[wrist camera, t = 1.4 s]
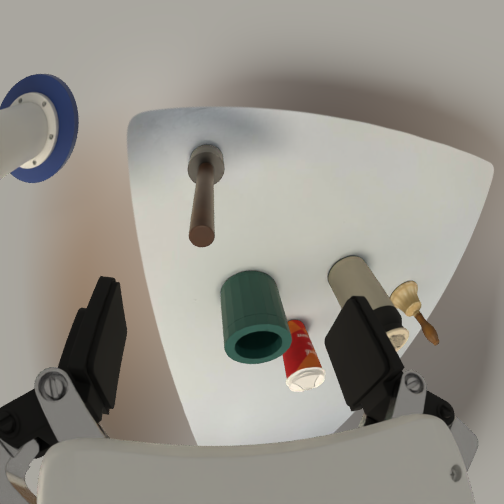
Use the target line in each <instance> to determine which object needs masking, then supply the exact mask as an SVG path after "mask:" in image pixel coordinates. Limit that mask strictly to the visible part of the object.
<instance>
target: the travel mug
mask: <svg viewBox="0 0 504 504" xmlns="http://www.w3.org/2000/svg"><path fill="white" fill-rule="evenodd" d="M328 281H329V284H330V286H331V288H332V290H333V292H334V294H335V296H336V298H337V300H338V302H339V304H340V306H341V308H343V306H344V304H345V303H346V301H347V300H348V299H350V297H351V296H364V297H366V299H367V300H368V302H369V304H370V306H371V307H372V309H373V311H374V312H375V314H376V316H377V318H378V319H379V321H380V323H381V325H382V326H383V328H384V330H385V332H386V334H387V335H388V337H389V339H390V341H391V343H392V345H393V347H394V348H395V350H396V351H398V350H399V349H400V348H401V347H402V346H403V345H404V344H405V343H406V341H407V340H408V337H409V331H408V330H407V329H406V328H404V327H403V326H402V318H401V315H400V314H399V312H398V310H397V309H396V307H395V306H394V304H393V303H392V301H391V300H390V298H389V297H388V295H387V294H386V292H385V291H384V289H383V288H382V286H381V285H380V283H379V282H378V280H377V279H376V277H375V276H374V274H373V273H372V271H371V270H370V269H369V267H368V266H367V264H366V263H365V262H364V260H363V259H362V258H360V257H356V256H351V257H347V258H344V259H342V260H340V261H339V262H338V263H336V264H335V265H334V266H333V268H332V269H331V271H330V273H329V276H328Z"/></svg>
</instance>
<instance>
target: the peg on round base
mask: <svg viewBox="0 0 504 504" xmlns="http://www.w3.org/2000/svg"><path fill="white" fill-rule="evenodd" d="M188 174H189V177H190V178H191V180H192V181H193V182H194V183H196V188H195V194H194V201H193V208H192V215H191V222H190V230H189V239H190V241H191V243H192V244H193V245H195V246H197V247H206V246H209V245H210V244H211V243H212V242H213V241H214V238H215V230H214V184H216V183H217V182H218V181H220V179H221V178H222V176H223V174H224V161H223V155H222V153H221V151H220V150H219V149H218V148H217V147H215V146H213V145H202V146H199V147H198V148H196V149H195V150H194V151H193V153H192V155H191V158H190V161H189V165H188Z"/></svg>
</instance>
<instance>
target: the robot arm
mask: <svg viewBox="0 0 504 504" xmlns="http://www.w3.org/2000/svg"><path fill="white" fill-rule="evenodd" d="M58 131H59V121H58V115H57V111H56V109H55V106H54V104H53V103H52V101H51V100H50V99H49V98H48V97H47V96H46V95H44V94H42V93H39V92H30V93H26V94H23V95H21V96H20V97H18V98H17V99H16V100H15V101H14V102H13V103H12V104H11V106H10V107H8V108H5V109H1V110H0V179H2V178H3V177H4V176H6V175H7V174H9V173H10V172H12V171H14V170H15V169H17V168H18V167H21V168H26V169H29V168H34V167H37V166H38V165H40V164H42V163H43V162H44V161H45V160H47V158H48V157H49V156H50V155H51V153H52V151H53V149H54V147H55V145H56V142H57V138H58ZM126 336H127V327H126V321H125V315H124V309H123V303H122V296H121V289H120V283H119V282H116V281H115V278H111V277H103V276H101V277H100V278H99V280H98V282H97V284H96V287H95V289H94V291H93V294H92V297H91V299H90V301H89V304H88V306H87V308H80V309H79V310H78V312H77V315H76V317H75V320H74V323H73V325H72V328H71V330H70V333H69V336H68V338H67V341H66V344H65V347H64V350H63V353H62V356H61V359H60V362H59V366H58V368H54V367H50V368H47V369H44V370H43V371H42V372H40V374H39V375H38V376H37V378H36V380H35V389H33V390H31V391H29V392H28V393H26V394H24V395H22V396H20V397H19V398H17V399H15V400H13V401H11V402H10V403H8V404H6V405H4V406H3V407H1V408H0V504H475V500H474V496H473V492H472V488H471V484H470V481H469V478H468V474H467V471H468V469H469V467H470V465H471V462H472V460H473V458H474V455H475V453H476V451H477V448H478V439H477V437H476V436H475V434H473V432H472V431H471V430H469V428H468V427H467V426H466V425H465V424H464V423H463V422H462V421H461V420H460V419H459V418H458V417H455V418H454V410H453V408H452V407H451V405H450V404H449V403H448V402H447V401H445V400H443V399H441V398H440V397H437V396H436V395H434V394H432V393H430V392H429V391H427V390H426V389H427V386H426V381H425V379H424V378H423V376H422V375H421V374H420V373H418V372H417V371H414V370H407V371H405V372H404V373H403V372H402V370H403V368H404V366H403V364H402V362H401V360H400V358H399V356H398V354H397V352H396V350H395V348H394V347H393V345H392V343H391V341H390V339H389V337H388V335H387V334H386V332H385V330H384V328H383V326H382V325H381V323H380V321H379V319H378V318H377V316H376V314H375V312H374V311H373V309H372V307H371V306H370V304H369V302H368V300H367V299H366V297H364V296H351V297H350V299H348V300H347V301H346V303H345V304H344V306H343V308H342V310H341V312H340V313H339V315H338V317H337V319H336V320H335V322H334V324H333V326H332V327H331V329H330V331H329V332H328V334H327V336H326V337H325V346H326V349H327V352H328V354H329V357H330V360H331V363H332V365H333V368H334V371H335V373H336V376H337V379H338V382H339V384H340V387H341V390H342V393H343V396H344V399H345V401H346V404H347V405H348V406H350V409H351V411H356V410H360V409H362V408H363V410H364V414H363V416H362V419H361V422H360V424H359V427H358V428H356V429H352V430H348V431H344V432H339V433H335V434H330V435H325V436H319V437H314V438H308V439H301V440H294V441H287V442H278V443H269V444H257V445H240V446H187V445H169V444H156V443H146V442H137V441H128V440H118V439H110V438H109V436H108V435H107V433H106V432H105V430H104V429H103V427H102V426H101V424H100V423H99V422H100V421H101V420H102V414H109V409H113V408H114V405H115V398H116V390H117V384H118V378H119V373H120V367H121V361H122V356H123V351H124V346H125V341H126ZM44 455H45V456H44ZM42 456H44V458H43V460H42V464H41V467H40V472H39V478H38V486H37V497H36V496H35V495H34V494H33V493H32V492H31V491H30V490H29V489H28V487H27V485H26V483H25V474H26V472H27V470H28V469H29V468H30V466H29V464H30V463H31V462H32V460H33V459H34V458H36V459H37V458H40V457H42Z"/></svg>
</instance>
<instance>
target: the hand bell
mask: <svg viewBox="0 0 504 504" xmlns="http://www.w3.org/2000/svg"><path fill="white" fill-rule="evenodd" d="M417 290H418V287H417V284H416V283H415V282H414V281H408V282H405V283H403V284H401V285H400V286H398V287H397V288H396V289H395V290H394V292H393V293H392V294H391V296H390V300H391V301H392V303H393V304H394V306H395V307H396V308H399V309H400V310H402V311H403V312H404V313H405V314H406V315H407V316H414V317H415V318H416V319H417V321H418V322H419V323H420V325H421V327H422V331H423V333H424V335H425V337H426V338H427V339H428V340H429V341H430V342H431V343H433V344H434V345H437V344H439V339H438V335H437V332H436V330H435V329H434V327H433V326H431V324H429V323H428V322H427V321H426V320H425V319H424V317H423V315H422V314H421V313H420V311H419V310H420V308H421V302H420V301H419V298H418V296H417Z"/></svg>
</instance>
